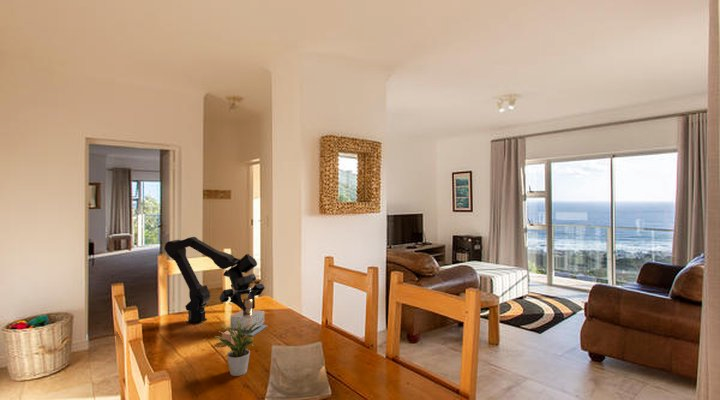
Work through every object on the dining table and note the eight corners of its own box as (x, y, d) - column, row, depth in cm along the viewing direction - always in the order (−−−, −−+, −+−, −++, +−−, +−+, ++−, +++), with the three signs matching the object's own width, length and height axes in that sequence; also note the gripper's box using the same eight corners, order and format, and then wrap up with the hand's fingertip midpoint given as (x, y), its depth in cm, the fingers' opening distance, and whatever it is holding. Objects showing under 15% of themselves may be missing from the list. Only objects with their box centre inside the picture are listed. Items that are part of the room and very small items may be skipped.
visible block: (222, 343, 146) (222, 333, 145) (228, 340, 149) (228, 330, 149) (231, 345, 144) (231, 334, 144) (237, 341, 148) (237, 331, 148)
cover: (230, 327, 157) (230, 301, 157) (244, 320, 167) (244, 295, 167) (251, 330, 154) (251, 303, 154) (264, 322, 164) (264, 297, 164)
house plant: (247, 357, 133) (247, 311, 133) (271, 368, 125) (271, 319, 124) (209, 371, 122) (209, 321, 122) (233, 385, 114) (233, 331, 113)
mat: (227, 333, 157) (227, 331, 157) (243, 323, 168) (243, 322, 168) (252, 336, 153) (252, 335, 153) (267, 326, 165) (267, 325, 165)
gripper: (222, 271, 157) (234, 303, 149) (262, 265, 170) (275, 294, 162) (214, 286, 162) (225, 318, 155) (253, 279, 175) (266, 308, 168)
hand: (249, 309), depth 160 cm, fingers closed on cover, 4 cm apart
